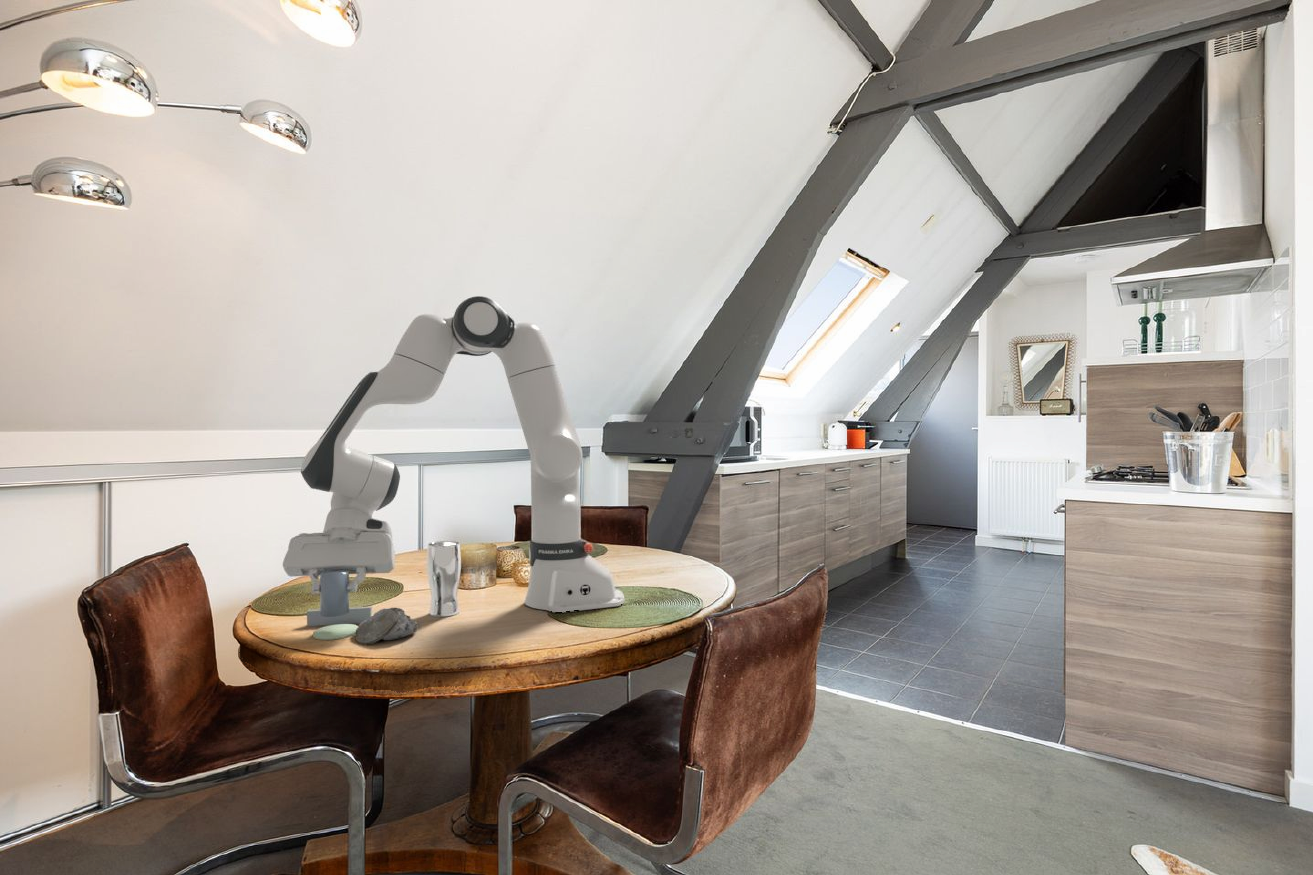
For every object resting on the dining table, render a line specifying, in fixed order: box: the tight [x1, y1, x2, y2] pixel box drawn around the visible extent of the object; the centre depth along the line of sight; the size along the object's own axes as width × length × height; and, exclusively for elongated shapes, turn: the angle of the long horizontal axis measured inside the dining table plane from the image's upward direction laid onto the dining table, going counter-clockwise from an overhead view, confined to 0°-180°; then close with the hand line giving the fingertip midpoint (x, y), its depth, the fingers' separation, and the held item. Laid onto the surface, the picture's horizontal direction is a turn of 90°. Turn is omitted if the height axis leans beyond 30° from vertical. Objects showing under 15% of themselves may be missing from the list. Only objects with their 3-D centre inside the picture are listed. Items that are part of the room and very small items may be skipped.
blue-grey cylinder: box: [319, 569, 350, 617], centre depth 128 cm, size 5×5×8 cm
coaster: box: [312, 624, 359, 641], centre depth 128 cm, size 8×8×1 cm
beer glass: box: [426, 540, 462, 618], centre depth 141 cm, size 7×7×15 cm
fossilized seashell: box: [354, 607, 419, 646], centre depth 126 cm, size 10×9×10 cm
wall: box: [306, 606, 373, 627], centre depth 134 cm, size 12×1×3 cm, turn 101°
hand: (333, 591), depth 127 cm, fingers closed on blue-grey cylinder, 5 cm apart
